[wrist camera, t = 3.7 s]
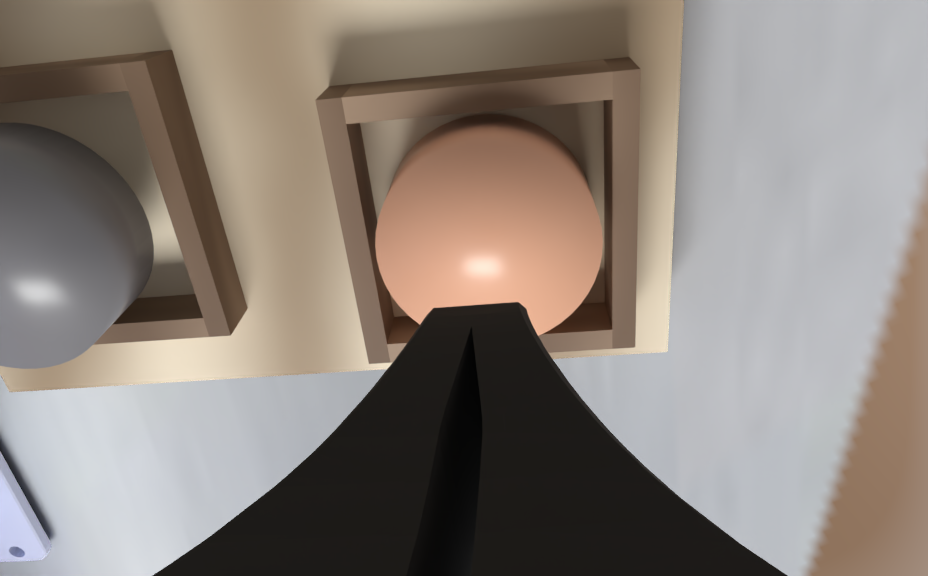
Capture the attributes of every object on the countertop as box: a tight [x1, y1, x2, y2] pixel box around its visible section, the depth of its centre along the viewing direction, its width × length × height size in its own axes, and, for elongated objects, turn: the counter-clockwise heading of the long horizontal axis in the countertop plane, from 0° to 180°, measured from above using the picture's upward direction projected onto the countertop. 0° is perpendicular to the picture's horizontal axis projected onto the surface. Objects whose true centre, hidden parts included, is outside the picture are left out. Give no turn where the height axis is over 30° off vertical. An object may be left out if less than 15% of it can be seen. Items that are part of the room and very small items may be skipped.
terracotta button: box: [375, 114, 603, 336], centre depth 14 cm, size 4×4×2 cm
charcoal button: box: [0, 123, 154, 369], centre depth 13 cm, size 4×4×2 cm
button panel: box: [0, 0, 684, 392], centre depth 14 cm, size 17×16×3 cm
